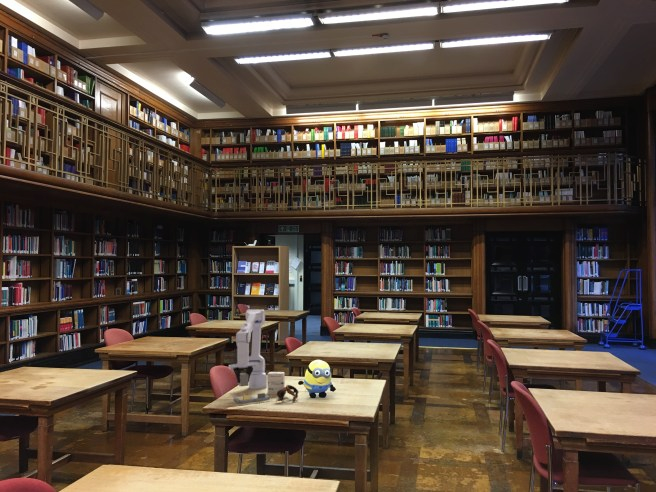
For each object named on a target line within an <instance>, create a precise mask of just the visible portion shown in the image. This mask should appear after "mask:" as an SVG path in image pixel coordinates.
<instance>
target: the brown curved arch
mask: <svg viewBox="0 0 656 492" xmlns="http://www.w3.org/2000/svg"><path fill="white" fill-rule="evenodd" d="M286 393H287V394H289V395H291V396H292V397H293V398H292V402H295V401H296V400H297V399H298V397H299V389H298V388H296V387H294V386H293V385H290V384H286V385H285V387H284V388H282V390H279V391H278V392H277V394H276V396H277V398H278V399H279V400H281V401H283V400H284V397H285V395H286Z"/></svg>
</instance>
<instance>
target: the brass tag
mask: <svg viewBox="0 0 656 492" xmlns="http://www.w3.org/2000/svg"><path fill="white" fill-rule="evenodd" d="M251 396H252V395H251V394H248V395H245V396H242V400H249V399H251Z"/></svg>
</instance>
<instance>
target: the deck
mask: <svg viewBox="0 0 656 492" xmlns="http://www.w3.org/2000/svg"><path fill="white" fill-rule="evenodd" d="M229 395H231V396H232V397H233V398H234V397H237V398H238V397H239V398H240V397H243V396H245V395H249V393H246V392H245V391H240V392H239V391H238V392H231V393H230V392H229Z"/></svg>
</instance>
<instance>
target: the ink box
mask: <svg viewBox="0 0 656 492" xmlns="http://www.w3.org/2000/svg"><path fill="white" fill-rule="evenodd" d="M266 376H267V395H268V394H270V395H272V394H273V395H277V392H278V391H279V390H282V388H284V387H286V384H285V383H286V382H285V381H286V380H285V372H284V371H270V372H268V373H267V374H266Z"/></svg>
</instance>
